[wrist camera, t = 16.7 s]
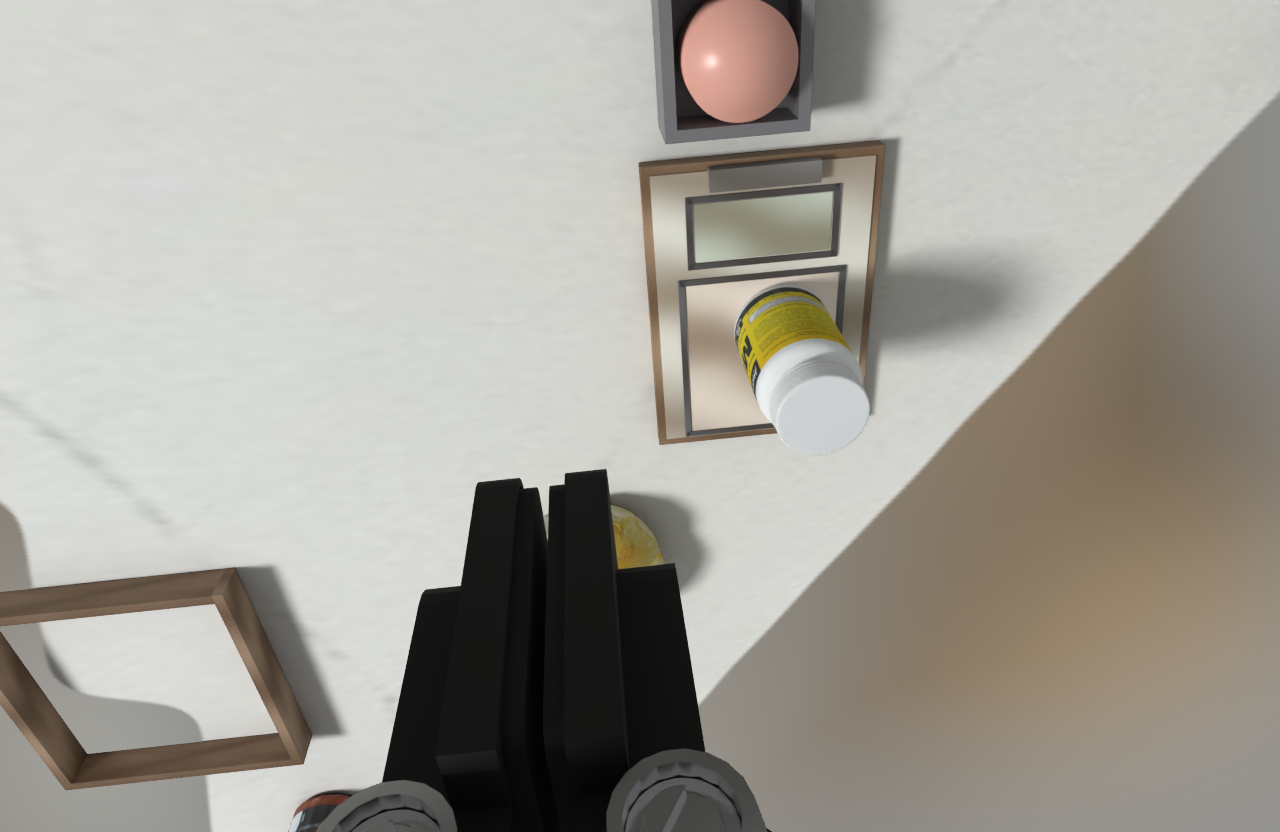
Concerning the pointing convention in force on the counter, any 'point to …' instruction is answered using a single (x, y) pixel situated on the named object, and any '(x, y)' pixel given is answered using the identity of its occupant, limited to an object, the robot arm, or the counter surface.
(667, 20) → the button housing
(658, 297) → the brown double tray
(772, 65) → the button
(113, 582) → the frame
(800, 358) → the supplement bottle
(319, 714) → the counter surface
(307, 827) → the supplement bottle
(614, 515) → the bread roll
